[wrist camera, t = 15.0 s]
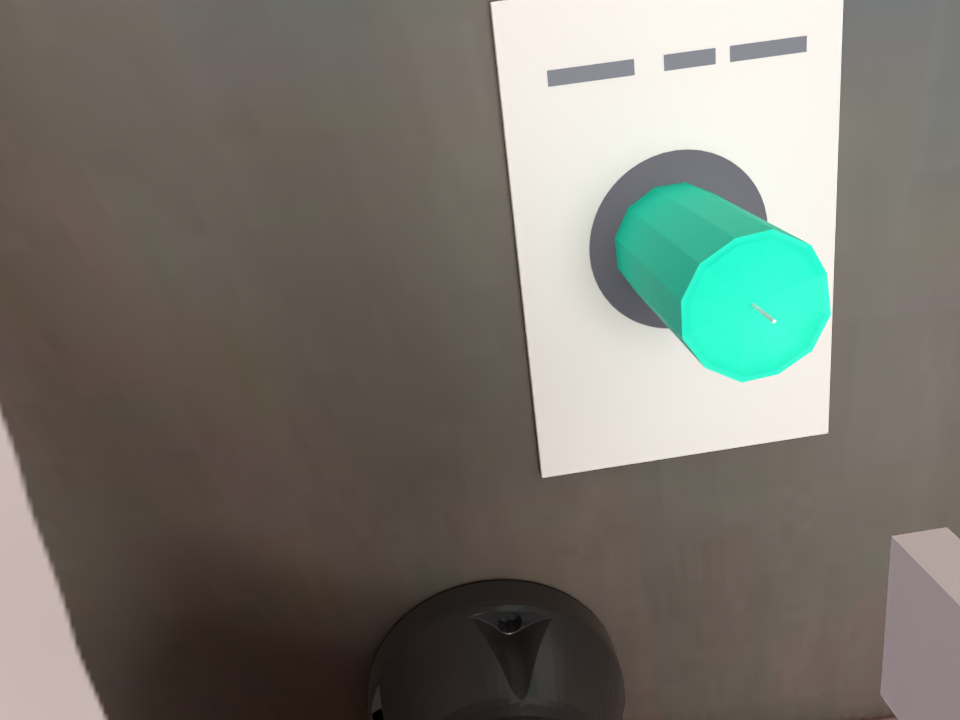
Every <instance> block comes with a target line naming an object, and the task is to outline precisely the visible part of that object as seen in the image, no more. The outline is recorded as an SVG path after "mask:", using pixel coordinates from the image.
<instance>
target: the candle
mask: <svg viewBox="0 0 960 720" xmlns="http://www.w3.org/2000/svg"><path fill="white" fill-rule="evenodd" d="M615 247H616V258H617V268H618V269H619V271H620V272H621V273H622V275H623V276H624V277H625V279H626V280H627V281H628V282H629V284H630V285H631V286H632V288H633V289H634V290H635V292H636V293H637V294H638V295H639V296H640V297H641V298H642V299H643V300H644V301H645V303H646V304H647V305H648V306H649V307H650V308H651V309H652V310H653V311H654V312H655V314H656V315H657V316H658V317H659V318H660V319H661V320H662V321H663V322H664V323H665V325H666V326H667V327H668V328H669V329H670V330H671V331H672V332H673V333H674V334H675V336H676V337H677V338H678V339H679V340H680V341H681V342H682V343H683V344H684V346H685V347H686V348H687V349H688V350H689V351H690V352H691V353H692V354H693V355H694V357H695V358H696V359H697V360H698V361H699V362H700V363H701V364H702V365H703V366H704V368H706V369H709V370H711V371H714V372H716V373H719V374H721V375H724V376H726V377H729V378H731V379H734V380H736V381H739V382H741V383H743V382H747V381H751V380H756V379H760V378H764V377H769V376H773V375H778V374H780V373H781V372H783V371H784V370H785V369H787V368H788V367H790V366H791V365H793V364H794V363H796V362H797V361H798V360H800V359H801V358H803V357H804V356H806V355H807V354H809V353H810V352H811V351H813V349H814V347H815V345H816V343H817V341H818V339H819V337H820V335H821V333H822V331H823V329H824V327H825V325H826V324H827V322H828V320H829V318H830V316H831V308H830V298H829V287H828V277H827V272H826V271H825V269H824V267H823V265H822V263H821V262H820V260H819V258H818V256H817V254H816V253H815V251H814V249H813V247H812V245H810V244H808V243H807V242H805V241H803V240H801V239H799V238H797V237H795V236H793V235H791V234H789V233H788V232H786V231H784V230H782V229H780V228H778V227H776V226H774V225H772V224H771V223H769V222H767V221H765V220H763V219H761V218H759V217H757V216H755V215H754V214H752V213H750V212H748V211H746V210H744V209H742V208H740V207H738V206H736V205H735V204H733V203H731V202H729V201H727V200H725V199H723V198H721V197H719V196H718V195H716V194H714V193H711V192H709V191H706V190H704V189H701V188H699V187H697V186H694V185H692V184H689V183H687V182H683V183H677V184H671V185H665V186H659V187H654V188H653V189H651V190H650V191H649V192H648V193H646V194H645V195H644V196H642V197H641V198H640V199H639V200H637V201H636V202H635V203H634V204H632V205H631V206H630V207H628V209H627V211H626V213H625V216H624V218H623V220H622V222H621V225H620V227H619V229H618V231H617V233H616V236H615Z"/></svg>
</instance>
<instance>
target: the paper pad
mask: <svg viewBox="0 0 960 720" xmlns="http://www.w3.org/2000/svg"><path fill="white" fill-rule="evenodd" d="M490 10H491V19H492V28H493V37H494V47H495V56H496V65H497V74H498V84H499V93H500V102H501V111H502V120H503V130H504V139H505V148H506V157H507V166H508V176H509V185H510V194H511V203H512V212H513V222H514V231H515V240H516V249H517V259H518V268H519V277H520V286H521V295H522V305H523V314H524V323H525V332H526V341H527V351H528V360H529V369H530V378H531V387H532V397H533V406H534V415H535V424H536V434H537V443H538V452H539V461H540V470H541V475H542V478H545V477H551V476H558V475H564V474H571V473H577V472H583V471H590V470H596V469H602V468H609V467H615V466H621V465H628V464H634V463H641V462H647V461H653V460H660V459H666V458H672V457H679V456H685V455H691V454H698V453H704V452H711V451H717V450H723V449H730V448H736V447H742V446H749V445H755V444H761V443H768V442H774V441H781V440H787V439H793V438H800V437H806V436H812V435H819V434H825V433H828V421H829V393H830V364H831V336H832V307H833V279H834V250H835V222H836V194H837V165H838V137H839V108H840V80H841V51H842V23H843V0H503V1H496V2H490ZM683 182H687V183H689V184H692V185H694V186H697V187H699V188H701V189H704V190H706V191H709V192H711V193H714V194H716V195H718V196H719V197H721V198H723V199H725V200H727V201H729V202H731V203H733V204H735V205H736V206H738V207H740V208H742V209H744V210H746V211H748V212H750V213H752V214H754V215H755V216H757V217H759V218H761V219H763V220H765V221H767V222H769V223H771V224H772V225H774V226H776V227H778V228H780V229H782V230H784V231H786V232H788V233H789V234H791V235H793V236H795V237H797V238H799V239H801V240H803V241H805V242H807V243H808V244H810V245H812V247H813V249H814V251H815V253H816V254H817V256H818V258H819V260H820V262H821V263H822V265H823V267H824V269H825V271H826V272H827V277H828V287H829V298H830V308H831V316H830V318H829V320H828V322H827V324H826V325H825V327H824V329H823V331H822V333H821V335H820V337H819V339H818V341H817V343H816V345H815V347H814V349H813V351H811V352H810V353H809V354H807V355H806V356H804V357H803V358H801V359H800V360H798V361H797V362H796V363H794V364H793V365H791V366H790V367H788V368H787V369H785V370H784V371H783V372H781V373H780V374H778V375H773V376H769V377H764V378H760V379H756V380H751V381H747V382H743V383H741V382H739V381H736V380H734V379H731V378H729V377H726V376H724V375H721V374H719V373H716V372H714V371H711V370H709V369H706V368H704V366H703V365H702V364H701V363H700V362H699V361H698V360H697V359H696V358H695V357H694V355H693V354H692V353H691V352H690V351H689V350H688V349H687V348H686V347H685V346H684V344H683V343H682V342H681V341H680V340H679V339H678V338H677V337H676V336H675V334H674V333H673V332H672V331H671V330H670V329H669V328H668V327H667V326H666V325H665V323H664V322H663V321H662V320H661V319H660V318H659V317H658V316H657V315H656V314H655V312H654V311H653V310H652V309H651V308H650V307H649V306H648V305H647V304H646V303H645V301H644V300H643V299H642V298H641V297H640V296H639V295H638V294H637V293H636V292H635V290H634V289H633V288H632V286H631V285H630V284H629V282H628V281H627V280H626V279H625V277H624V276H623V275H622V273H621V272H620V271H619V269H618V268H617V258H616V247H615V236H616V233H617V231H618V229H619V227H620V225H621V222H622V220H623V218H624V216H625V213H626V211H627V209H628V207H630V206H631V205H632V204H634V203H635V202H636V201H637V200H639V199H640V198H641V197H642V196H644V195H645V194H646V193H648V192H649V191H650V190H651V189H653V188H654V187H659V186H665V185H671V184H677V183H683Z"/></svg>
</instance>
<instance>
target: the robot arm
mask: <svg viewBox="0 0 960 720" xmlns="http://www.w3.org/2000/svg"><path fill="white" fill-rule="evenodd" d="M881 696H882V698H883V699H884V700H885V702H886V703H887V704H888V706H889V707H890V708H891V710H892V711H893V713H894V714H895V715H896V717H897V718H898V719H899V720H960V539H959V538H958V537H957V536H956V535H954V534H953V533H952V532H951V531H950V530H949V529H948V528H947V527H945V528H939V529H933V530H927V531H921V532H915V533H908V534H902V535H896V536H892V538H891V552H890V567H889V581H888V595H887V609H886V624H885V638H884V652H883V667H882V681H881ZM624 706H625V687H624V679H623V674H622V670H621V667H620V664H619V661H618V658H617V656H616V653H615V650H614V647H613V644H612V642H611V639H610V637H609V635H608V633H607V631H606V630H605V628H604V627H603V625H602V624H601V623H600V621H599V620H598V619H597V618H596V617H595V616H594V614H593V613H592V612H591V611H589V610H588V609H587V608H586V607H585V606H583V605H582V604H581V603H580V602H578V601H576V600H575V599H573V598H572V597H570V596H568V595H566V594H564V593H562V592H560V591H557V590H555V589H552V588H549V587H546V586H543V585H539V584H534V583H529V582H522V581H506V580H500V581H487V582H479V583H474V584H469V585H465V586H461V587H458V588H455V589H452V590H449V591H447V592H444V593H442V594H439V595H437V596H435V597H433V598H431V599H429V600H428V601H426V602H424V603H423V604H421V605H419V606H418V607H416V608H415V609H414V610H412V611H411V612H410V613H408V614H407V615H406V616H405V617H404V618H403V619H402V620H401V621H400V622H398V623H397V624H396V626H395V627H394V628H393V629H392V630H391V631H390V633H389V634H388V635H387V637H386V638H385V639H384V641H383V643H382V644H381V646H380V648H379V650H378V651H377V654H376V656H375V658H374V661H373V664H372V667H371V672H370V677H369V688H368V720H623V712H624Z"/></svg>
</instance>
